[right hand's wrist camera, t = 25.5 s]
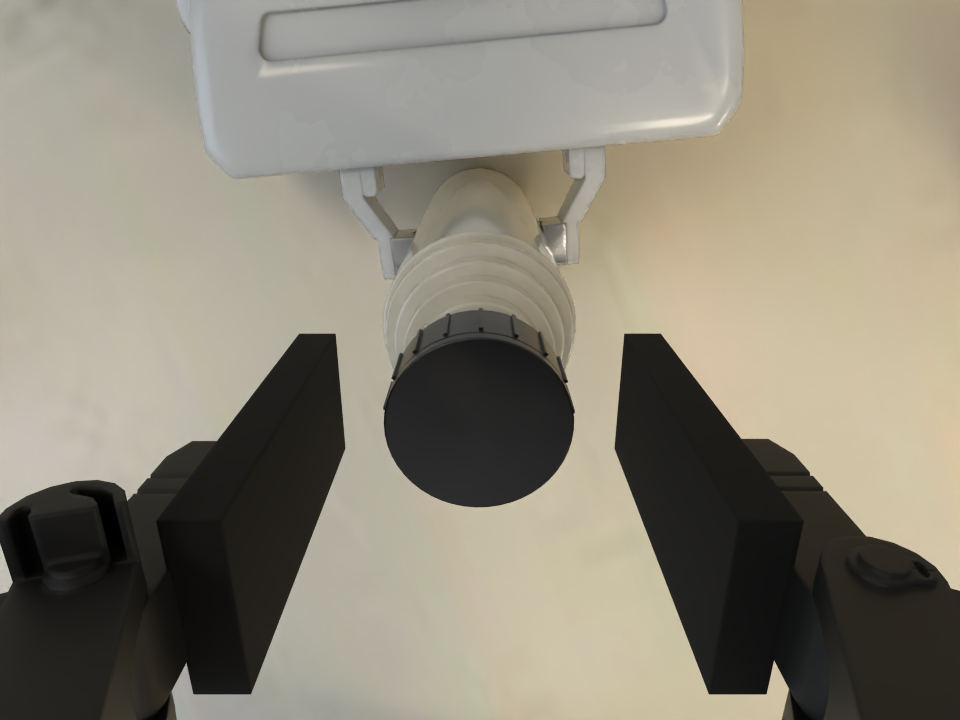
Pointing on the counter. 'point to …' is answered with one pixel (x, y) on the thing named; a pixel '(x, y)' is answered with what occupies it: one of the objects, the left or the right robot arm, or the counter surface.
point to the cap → (478, 409)
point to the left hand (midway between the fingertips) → (482, 268)
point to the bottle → (479, 265)
